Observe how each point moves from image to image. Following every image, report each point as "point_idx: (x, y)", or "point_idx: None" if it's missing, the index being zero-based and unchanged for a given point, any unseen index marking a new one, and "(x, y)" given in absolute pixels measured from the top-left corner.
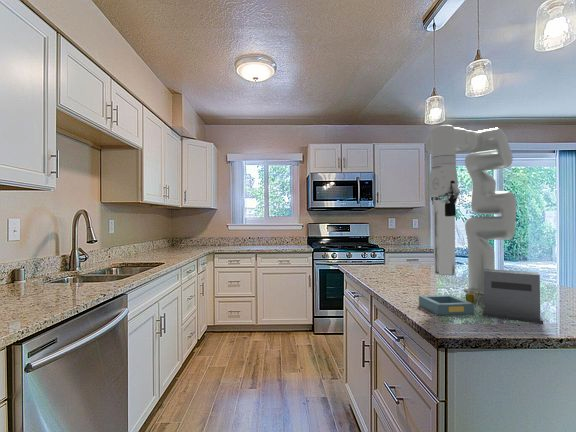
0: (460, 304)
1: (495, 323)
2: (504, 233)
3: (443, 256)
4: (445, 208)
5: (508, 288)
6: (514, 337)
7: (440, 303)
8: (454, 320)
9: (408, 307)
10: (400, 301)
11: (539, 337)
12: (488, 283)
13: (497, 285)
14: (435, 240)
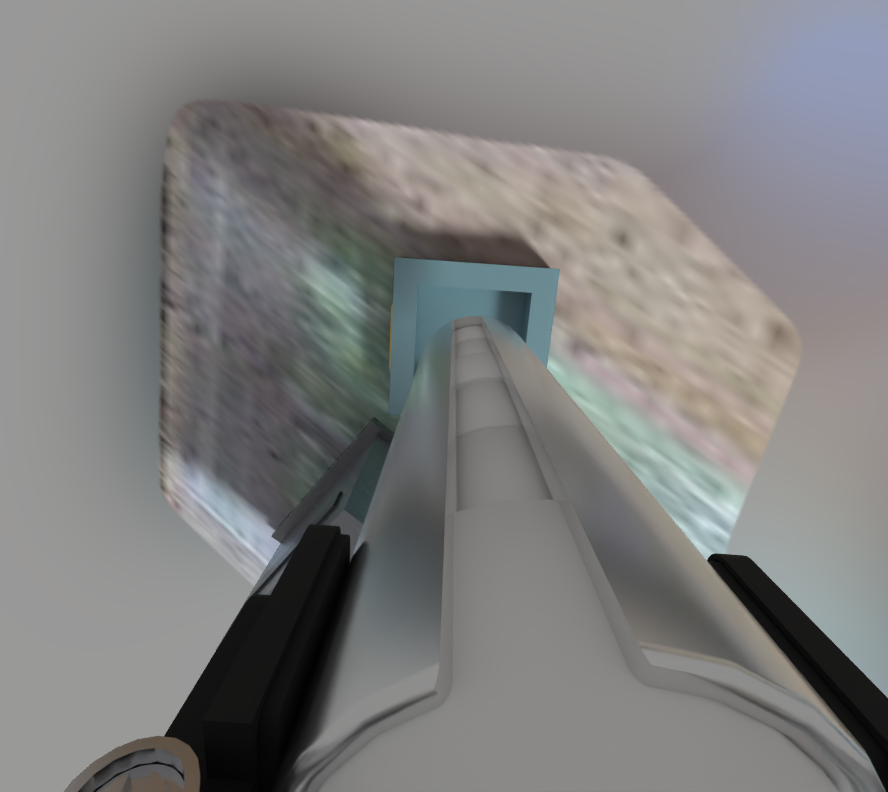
0: (391, 358)
1: (296, 400)
2: None
3: (425, 356)
4: (291, 611)
5: (302, 533)
6: (168, 353)
7: (413, 282)
8: (341, 284)
9: (539, 204)
10: (642, 224)
11: (167, 422)
12: (345, 493)
13: (323, 512)
14: (499, 360)
